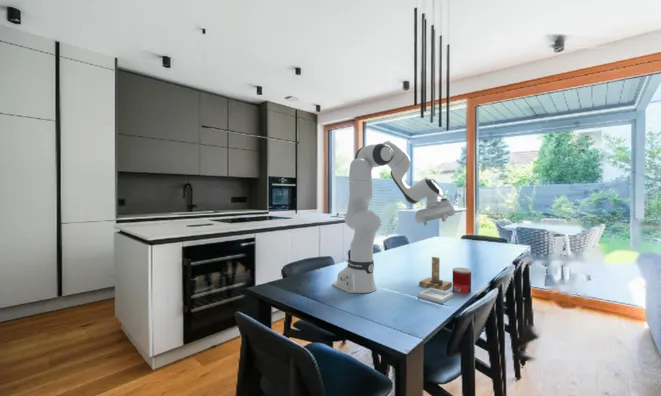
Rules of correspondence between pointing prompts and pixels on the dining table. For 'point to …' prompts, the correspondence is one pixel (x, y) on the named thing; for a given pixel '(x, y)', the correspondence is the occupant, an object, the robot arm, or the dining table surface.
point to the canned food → (462, 280)
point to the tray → (435, 295)
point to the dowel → (435, 269)
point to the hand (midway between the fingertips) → (434, 222)
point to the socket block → (441, 284)
